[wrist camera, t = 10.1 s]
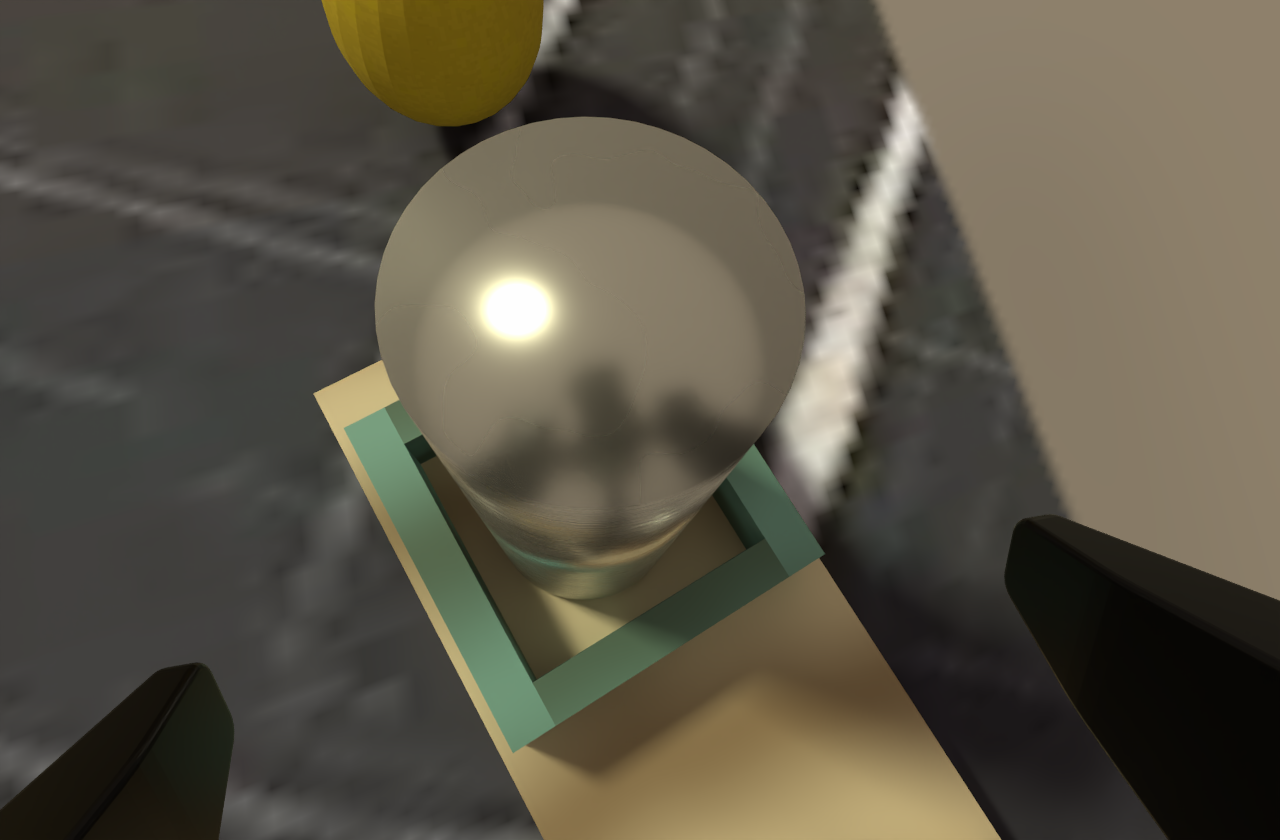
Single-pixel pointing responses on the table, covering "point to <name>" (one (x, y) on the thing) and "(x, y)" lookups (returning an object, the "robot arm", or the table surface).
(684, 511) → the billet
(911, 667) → the table surface
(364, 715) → the table surface
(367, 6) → the lemon
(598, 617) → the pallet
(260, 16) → the table surface
